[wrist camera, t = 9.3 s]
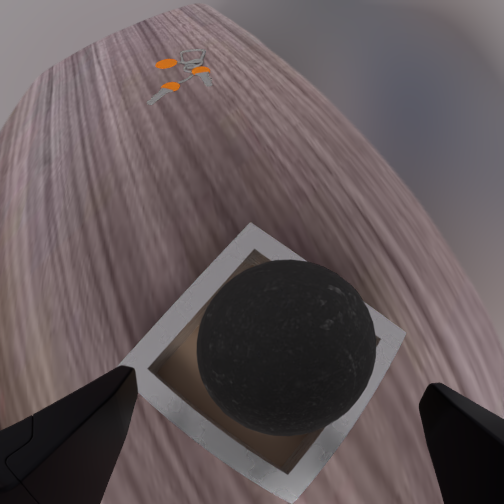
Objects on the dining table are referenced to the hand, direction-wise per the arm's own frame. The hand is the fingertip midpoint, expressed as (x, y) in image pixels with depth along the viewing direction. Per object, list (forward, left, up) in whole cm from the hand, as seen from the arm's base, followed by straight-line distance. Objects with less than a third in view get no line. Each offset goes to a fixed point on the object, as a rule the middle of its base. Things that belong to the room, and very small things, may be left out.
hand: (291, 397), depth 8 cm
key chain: (+20, +26, -10) cm, 34 cm away
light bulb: (+2, +1, -8) cm, 8 cm away
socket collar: (+2, +1, -9) cm, 9 cm away
